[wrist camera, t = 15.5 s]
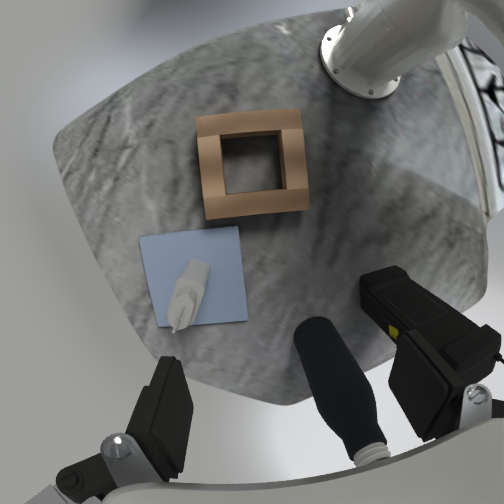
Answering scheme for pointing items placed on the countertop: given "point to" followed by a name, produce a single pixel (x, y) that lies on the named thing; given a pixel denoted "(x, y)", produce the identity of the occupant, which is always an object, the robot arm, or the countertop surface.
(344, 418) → the black water bottle
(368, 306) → the portable radio
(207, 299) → the blue square plate
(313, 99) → the countertop surface
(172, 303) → the power adapter
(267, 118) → the walnut collar
